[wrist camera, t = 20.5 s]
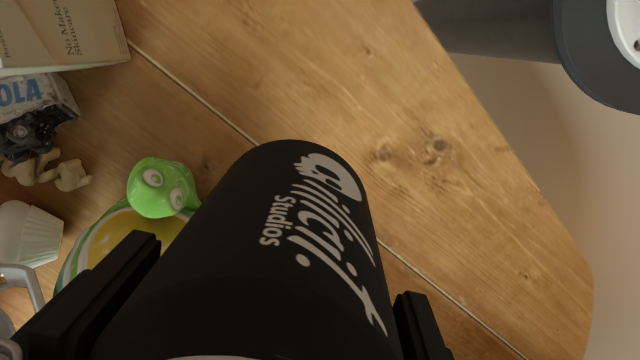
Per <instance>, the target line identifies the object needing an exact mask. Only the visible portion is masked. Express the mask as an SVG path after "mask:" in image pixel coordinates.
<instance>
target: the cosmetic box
mask: <svg viewBox="0 0 640 360" xmlns="http://www.w3.org/2000/svg"><path fill="white" fill-rule="evenodd" d="M130 60H131V56H130V53H129V49H128V46H127V42H126V38H125V35H124V31H123V28H122V24H121V21H120V17H119V14H118V10H117V7H116V4H115V0H0V77H2V76H13V75H24V74H34V73H46V72H57V71H68V70H79V69H87V68H94V67H101V66H107V65H113V64H118V63H123V62H128V61H130Z"/></svg>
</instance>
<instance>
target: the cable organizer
mask: <svg viewBox="0 0 640 360" xmlns="http://www.w3.org/2000/svg"><path fill="white" fill-rule="evenodd" d="M1 273H3V276H4V279H5V281H6V282H5V283H2V284H0V291H2V290H5V289H8V288H12V287H24V288H27V289H28V292H29V295H30V298H31V301H32V304H33V307H34V311H35V314H36V313H37V312H38V311H39V310H40V309H41V308H43V307H44V306H45V305H46V304H45V301H44V298H43V295H42V292H41V289H40V286H39V283H38V280H37V277H36V274H35V271H34V269H32V268H30V267H27V266H24V265H20V264H11V263H0V276H1ZM15 333H16V332H15V328H14V325H13V323H12V321H11V319H10V318H9V316H8V315H7V314H6V313H5V312H4V311H3V310H1V309H0V337H2V338H6V339H9V338H11V337H12V336H13V335H14V334H15Z"/></svg>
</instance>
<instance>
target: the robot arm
mask: <svg viewBox="0 0 640 360" xmlns="http://www.w3.org/2000/svg"><path fill="white" fill-rule="evenodd" d="M606 12H607V19H608V26H609V30H610V32H611V35H612V38H613V40H614V43H615V45H616V46H617V48H618V49H619V51H620V52H621V54H622V55H623V56H624V57H625V58H626V59H627V60H628V61H629V62H630V63H632V64H633V65H634V66H635V67H637V68H639V69H640V0H607V5H606ZM161 246H162V242H161V240H157V239H156V235H155V234H154V233H150V232H146V231H141V230H137V229H134V230H132V231H131V232H130V233H129V234H128V235H127V236H126V237H125V238H124V239H123V240H122V241H121V242H120V243H119V244H118V245H116V246H115V247H114V248H113V249H112V250H111V251H110V252H109V253H108V254H107V255H106V256H105V257H104V258H103V259H102V260H101V261H100V262H99V263H98V264H97V265H96V266H95V267H94V268H93V269H92V270H91V269H85V270H83V271H81V272H80V273H79V274H78V275H77V276H76V277H75V278H73V279H72V280H71V281H70V282H69V283H68V284H67V285H66V286H65V287H64V288H63V289H62V290H61V291H60V292H59V293H57V294H56V295H55V296H54V297H53V298H52V299H51V300H50V301H49V302H48V303H47V304H46V305H45V306H44V307H43V308H41V309H40V310H39V311H38V312H37V313H36V314H35V315H34V316H33V317H32V318H31V319H30V320H29V321H28V322H27V323H25V324H24V325H23V326H22V327H21V328H20V329H19V330H18V331H17V332H16V333H15V334H14V335H13V336H12V337H11V338H9V339H6V338H2V337H0V360H87V359H88V357H89V355H90V352H91V350H92V348H93V346H94V343H95V342H96V340H97V339H98V337H99V336H100V334H101V333H102V331H103V330H104V329H105V327H106V326H107V325H108V324H109V322H110V321H111V320H112V318H113V317H114V316H115V315H116V313H117V312H118V311H119V309H120V308H121V307H122V306H123V304H124V303H125V302H126V300H127V299H128V298H129V297H130V295H131V294H132V293H133V291H134V290H135V289H136V288H137V286H138V285H139V284H140V282H141V281H142V280H143V279H144V277H145V276H146V275H147V273H148V272H149V271H150V270H151V268H152V267H153V266H154V264H155V263H156V262H157V261H158V259H159V258H160V254H161ZM392 309H393V314H394V318H395V322H396V327H397V331H398V335H399V340H400V344H401V349H402V353H403V357H404V360H455V359H454V357H453V354H452V352H451V350H450V349H449V348H447V347H446V346H445V344H444V341H443V338H442V336H441V333H440V330H439V327H438V325H437V322H436V319H435V317H434V314H433V311H432V309H431V306H430V303H429V301H428V298H427V296H426V295H425V294H420V293H416V292H411V291H405V292H404V293H403V295H402V294H398V295H397V297H396V299H395V302H394V304H393V307H392Z"/></svg>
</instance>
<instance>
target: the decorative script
mask: <svg viewBox="0 0 640 360" xmlns="http://www.w3.org/2000/svg"><path fill="white" fill-rule="evenodd" d="M59 156H60V149H59V148H53V149H52V151H50V152H49V153H47V154H39V156H37V157H34V158H29V159H28V160H27V161H25V162H23V163H19V164H17V163H14V162H12V161H9V160H7V158H6V157H5V156H4V154H0V163H2V162H3V161H4V162H3V164H2V166H1V171H2V173H3V174H4V175H5V176H6V177H8V178H12V177H16V179H17V180H18V182H19V183H20V184H22V185H24V186H31V185H33V184H34V180H35V181H36V182H39V183H44V182H46V181H49V180H52V179H54V178H57V177H59V176H60V175H61V178H59V179H57V180H55V181H54V184H55V185H56V186H57V187H58V188H59V189H60V190H62V191H64V192H68V191H72V190H74V189H77V188H80V187H82V186H85V185H87V184H91V183H92V176H91V175H87V176H86V174H85V171H84V169H83V167H82V165H81V160H79V159H72V160H68V161H65V162H62V163H60V164H59V166H58V167H57V168H54V169H51V170H49V171H47V172H44V170H43V169H44V167H45V166H46V165H47V163H48V161H51V160H54V159H57V158H58V157H59Z"/></svg>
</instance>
